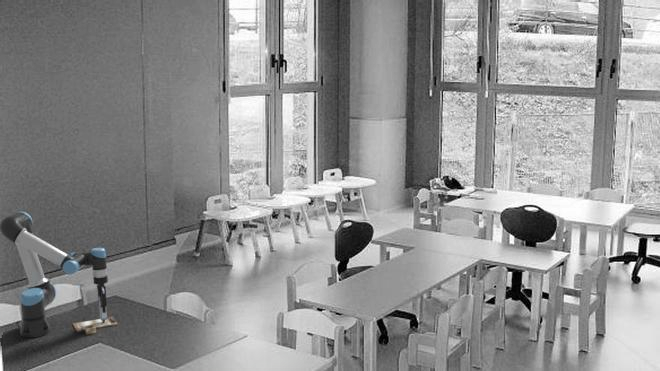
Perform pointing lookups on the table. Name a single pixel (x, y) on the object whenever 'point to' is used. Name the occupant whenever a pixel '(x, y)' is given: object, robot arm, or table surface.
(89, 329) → the stand
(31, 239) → the robot arm
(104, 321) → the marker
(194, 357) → the table surface
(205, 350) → the table surface
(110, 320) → the clipboard
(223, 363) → the table surface
